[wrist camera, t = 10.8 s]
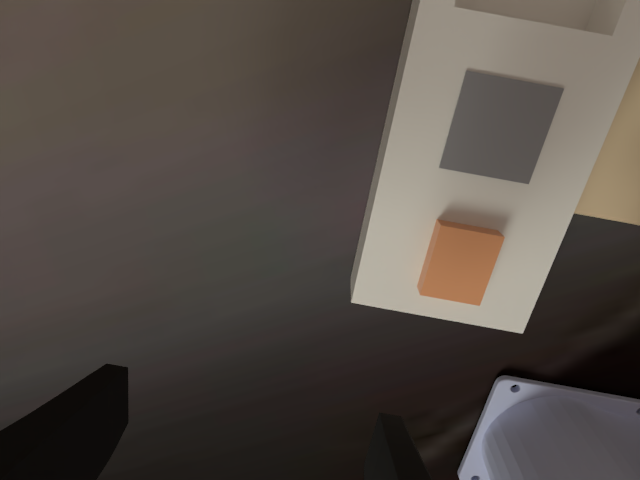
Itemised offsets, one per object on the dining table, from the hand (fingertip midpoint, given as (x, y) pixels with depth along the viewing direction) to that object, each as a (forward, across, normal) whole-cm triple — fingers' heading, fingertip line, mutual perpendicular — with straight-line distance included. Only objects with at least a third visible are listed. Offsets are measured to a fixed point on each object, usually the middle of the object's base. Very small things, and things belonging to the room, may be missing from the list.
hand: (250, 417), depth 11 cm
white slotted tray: (+10, -7, -11) cm, 16 cm away
